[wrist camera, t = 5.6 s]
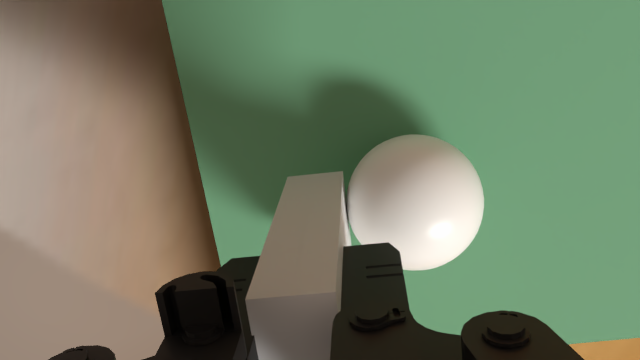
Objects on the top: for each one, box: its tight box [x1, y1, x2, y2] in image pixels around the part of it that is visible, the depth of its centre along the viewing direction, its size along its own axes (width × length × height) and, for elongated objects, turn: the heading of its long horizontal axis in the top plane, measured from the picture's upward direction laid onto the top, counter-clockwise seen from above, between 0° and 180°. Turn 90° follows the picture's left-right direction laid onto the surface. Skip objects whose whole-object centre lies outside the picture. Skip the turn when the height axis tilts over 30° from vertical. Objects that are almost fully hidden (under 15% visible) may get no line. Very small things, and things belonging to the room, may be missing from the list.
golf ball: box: [346, 134, 484, 271], centre depth 15 cm, size 4×4×4 cm
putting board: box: [162, 0, 640, 344], centre depth 16 cm, size 12×22×6 cm, turn 99°
